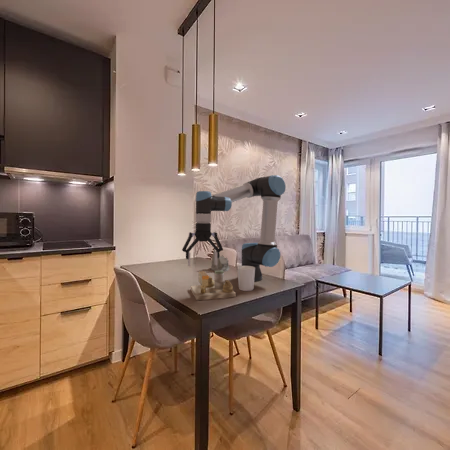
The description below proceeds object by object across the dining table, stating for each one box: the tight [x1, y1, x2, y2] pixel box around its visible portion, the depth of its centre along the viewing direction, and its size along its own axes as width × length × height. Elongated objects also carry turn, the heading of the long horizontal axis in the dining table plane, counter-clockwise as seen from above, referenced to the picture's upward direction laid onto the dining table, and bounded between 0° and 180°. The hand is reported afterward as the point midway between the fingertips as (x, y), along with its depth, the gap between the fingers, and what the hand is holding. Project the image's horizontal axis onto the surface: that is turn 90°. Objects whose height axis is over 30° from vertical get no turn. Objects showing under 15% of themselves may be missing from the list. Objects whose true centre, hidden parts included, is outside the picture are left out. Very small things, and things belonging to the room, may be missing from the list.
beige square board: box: [190, 270, 237, 301], centre depth 134 cm, size 20×18×11 cm
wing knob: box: [198, 270, 210, 293], centre depth 126 cm, size 3×10×10 cm, turn 17°
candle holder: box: [237, 265, 255, 292], centre depth 141 cm, size 10×10×12 cm
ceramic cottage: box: [210, 249, 230, 273], centre depth 190 cm, size 16×16×15 cm
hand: (202, 265), depth 126 cm, fingers open, 13 cm apart
